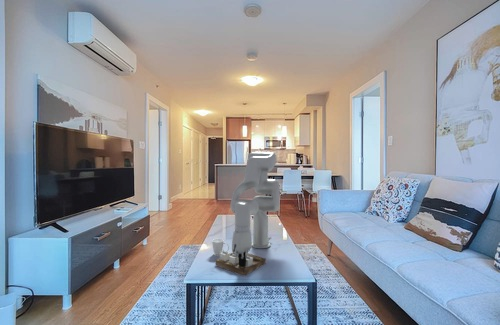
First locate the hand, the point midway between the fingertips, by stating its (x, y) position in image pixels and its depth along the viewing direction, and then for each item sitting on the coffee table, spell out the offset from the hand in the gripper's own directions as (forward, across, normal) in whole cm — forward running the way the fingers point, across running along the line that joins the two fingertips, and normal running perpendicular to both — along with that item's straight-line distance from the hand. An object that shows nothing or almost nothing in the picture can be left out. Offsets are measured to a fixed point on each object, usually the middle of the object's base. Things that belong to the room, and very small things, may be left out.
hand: (242, 265), depth 120 cm
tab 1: (+2, -2, -13) cm, 13 cm away
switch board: (+3, -7, -6) cm, 10 cm away
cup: (+4, -10, -24) cm, 27 cm away
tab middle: (+1, -2, -6) cm, 7 cm away
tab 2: (+1, -4, 0) cm, 4 cm away
